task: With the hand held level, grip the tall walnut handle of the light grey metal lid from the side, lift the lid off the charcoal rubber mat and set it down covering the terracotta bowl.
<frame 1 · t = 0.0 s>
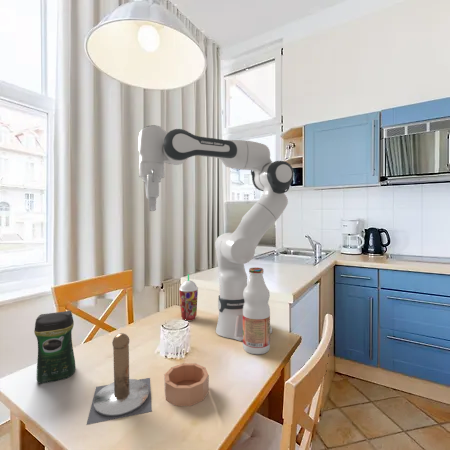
hand: (152, 211, 100), 48 cm above the table, tool pointing down, fingers open, 8 cm apart
coffee jar: (56, 376, 81), on the table
lid: (122, 398, 70), point 1 cm above the table, touching mat
fruit juice: (256, 348, 97), on the table
bowl: (186, 393, 73), on the table
smoothie: (188, 319, 124), on the table
mat: (122, 400, 70), on the table
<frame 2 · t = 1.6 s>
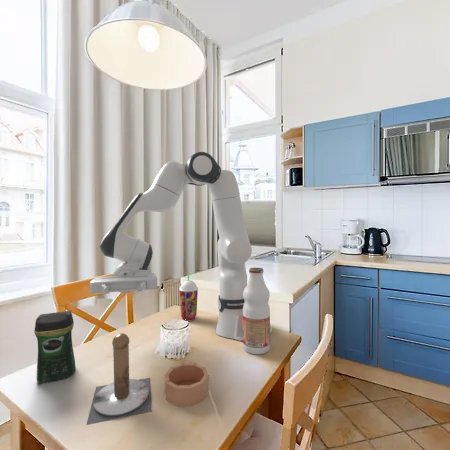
hand: (123, 290, 83), 24 cm above the table, tool horizontal, fingers open, 8 cm apart
nothing on the table moved.
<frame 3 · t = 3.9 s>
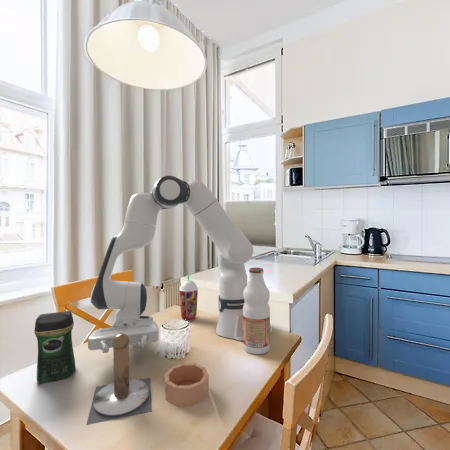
hand: (123, 347, 79), 9 cm above the table, tool horizontal, fingers open, 8 cm apart
nothing on the table moved.
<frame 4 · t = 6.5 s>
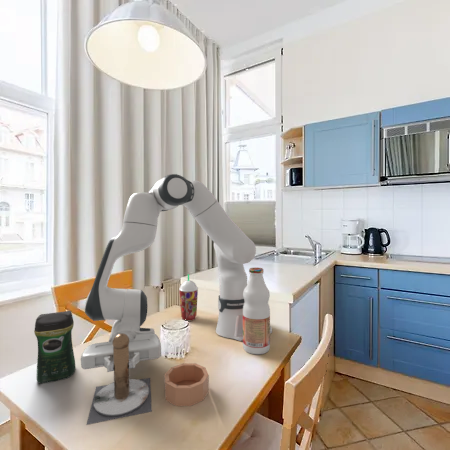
hand: (121, 367, 69), 9 cm above the table, tool horizontal, fingers closed on lid, 4 cm apart
lid: (122, 398, 70), point 1 cm above the table, touching gripper, mat
everything else where it was.
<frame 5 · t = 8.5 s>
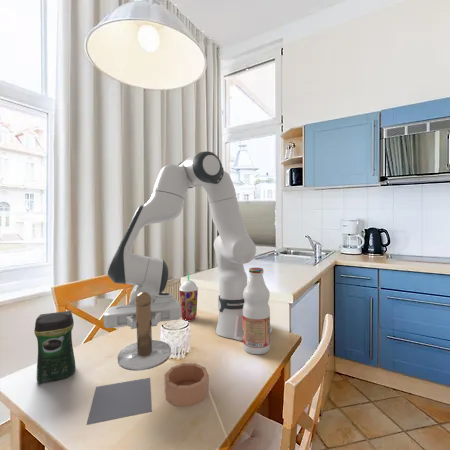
hand: (144, 324, 70), 19 cm above the table, tool horizontal, fingers closed on lid, 4 cm apart
lid: (144, 355, 71), point 11 cm above the table, touching gripper
everything else where it was.
when the fingers open (15 cm above the table, at t = 10.6 s): lid drops 2 cm, resting on bowl.
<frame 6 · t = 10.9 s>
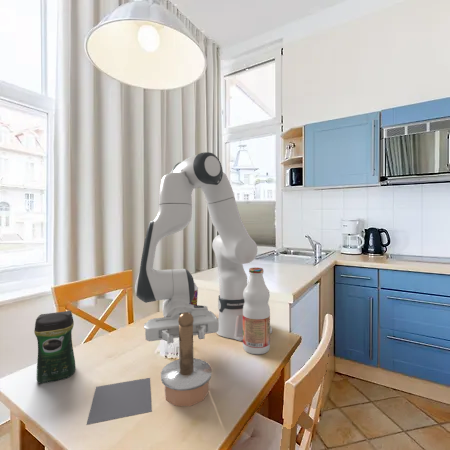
hand: (186, 338, 71), 15 cm above the table, tool horizontal, fingers open, 7 cm apart
lid: (186, 374, 73), point 5 cm above the table, touching bowl
everything else where it was.
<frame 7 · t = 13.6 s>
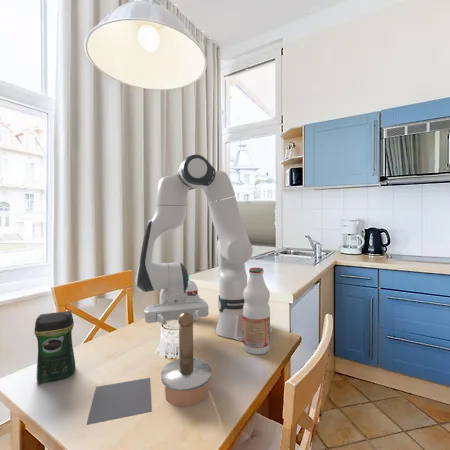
hand: (180, 320, 84), 15 cm above the table, tool horizontal, fingers open, 8 cm apart
nothing on the table moved.
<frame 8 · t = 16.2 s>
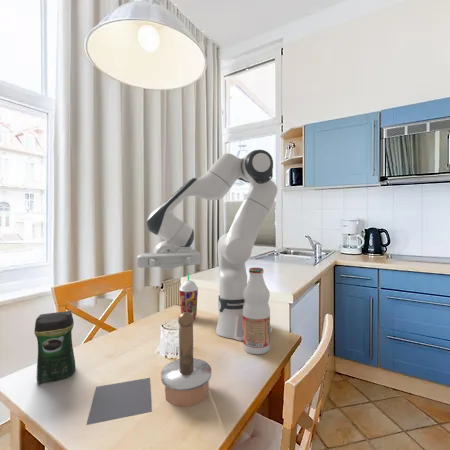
hand: (171, 263, 84), 32 cm above the table, tool horizontal, fingers open, 8 cm apart
nothing on the table moved.
at the end: lid 0.0 cm off-centre on the bowl, point 5.0 cm above the bowl's base; lid tilted 0°; the gripper is holding nothing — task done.
